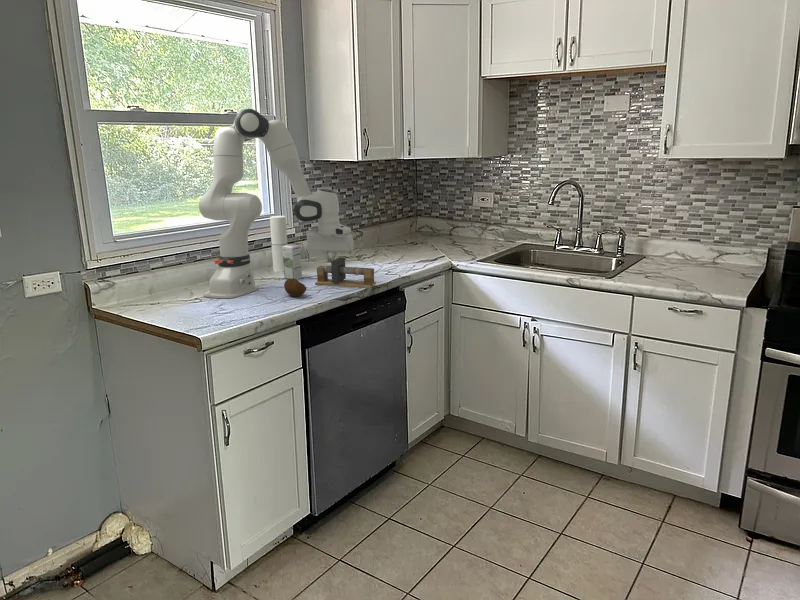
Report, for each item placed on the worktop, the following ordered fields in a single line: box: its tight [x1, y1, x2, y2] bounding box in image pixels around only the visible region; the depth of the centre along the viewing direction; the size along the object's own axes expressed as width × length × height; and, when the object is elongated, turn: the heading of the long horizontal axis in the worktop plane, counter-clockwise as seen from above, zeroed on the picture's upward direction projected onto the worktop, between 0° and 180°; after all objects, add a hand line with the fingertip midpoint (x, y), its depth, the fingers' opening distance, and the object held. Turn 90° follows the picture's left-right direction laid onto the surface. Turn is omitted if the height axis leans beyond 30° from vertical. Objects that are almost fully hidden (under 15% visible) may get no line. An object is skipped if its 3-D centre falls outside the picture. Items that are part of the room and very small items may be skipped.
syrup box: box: [282, 244, 303, 280], centre depth 265 cm, size 6×6×14 cm
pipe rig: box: [315, 265, 377, 289], centre depth 253 cm, size 8×24×8 cm, turn 72°
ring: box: [330, 256, 347, 283], centre depth 253 cm, size 9×2×9 cm, turn 162°
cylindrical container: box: [269, 215, 288, 273], centre depth 279 cm, size 7×7×25 cm
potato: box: [283, 278, 307, 298], centre depth 236 cm, size 7×12×7 cm, turn 53°
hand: (330, 261), depth 254 cm, fingers closed
